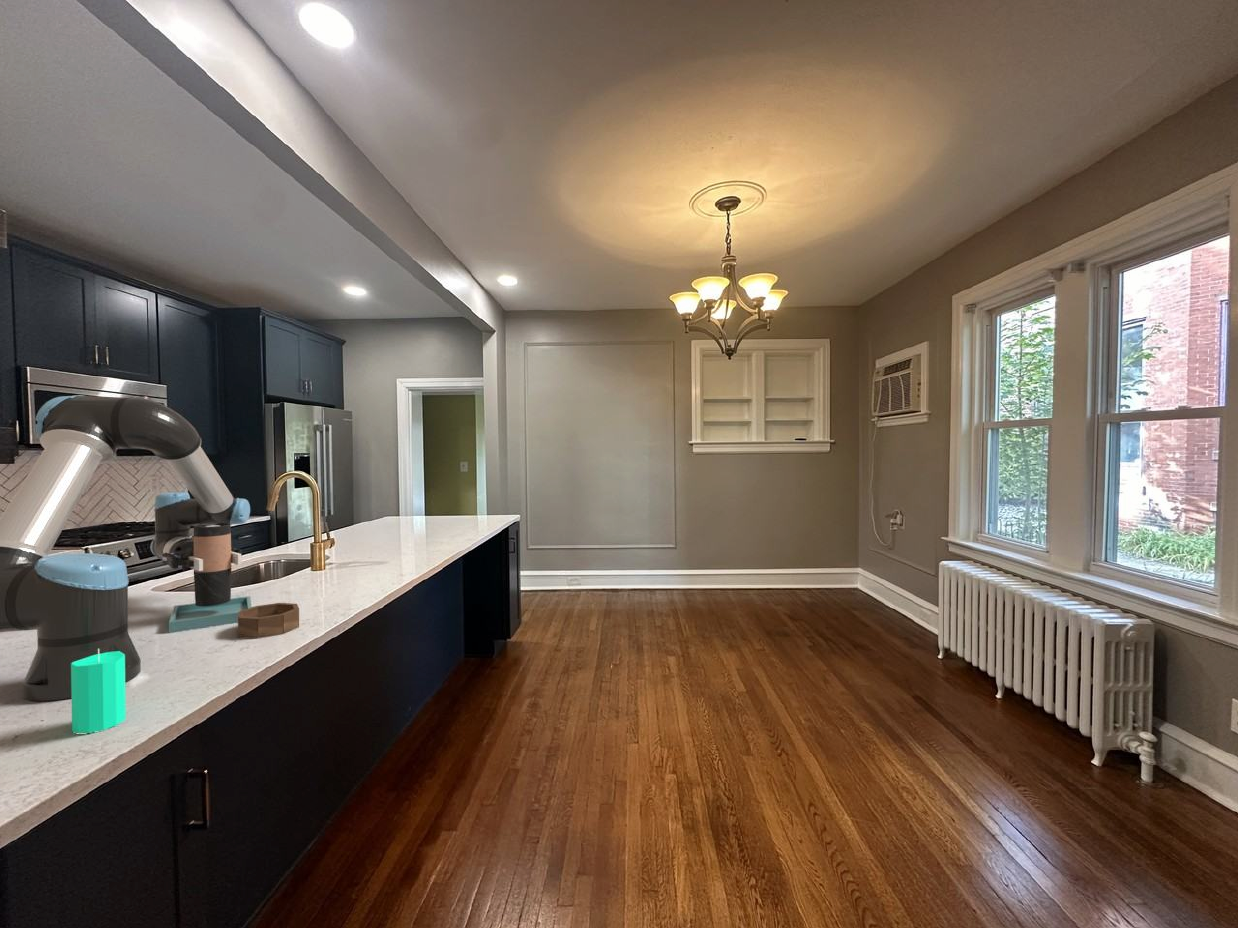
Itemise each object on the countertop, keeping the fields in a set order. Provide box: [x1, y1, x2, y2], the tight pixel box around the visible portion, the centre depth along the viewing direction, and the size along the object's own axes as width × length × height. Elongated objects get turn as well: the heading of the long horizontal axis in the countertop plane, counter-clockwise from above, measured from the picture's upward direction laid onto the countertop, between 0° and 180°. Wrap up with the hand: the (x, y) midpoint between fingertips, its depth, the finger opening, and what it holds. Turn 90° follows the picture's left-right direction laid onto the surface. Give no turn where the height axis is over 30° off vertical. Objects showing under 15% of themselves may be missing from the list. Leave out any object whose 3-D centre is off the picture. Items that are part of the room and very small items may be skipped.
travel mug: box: [193, 523, 232, 607], centre depth 133 cm, size 8×8×20 cm
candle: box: [71, 649, 127, 733], centre depth 81 cm, size 6×6×12 cm
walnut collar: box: [237, 602, 300, 639], centre depth 125 cm, size 12×12×4 cm
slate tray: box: [168, 595, 253, 634], centre depth 133 cm, size 16×16×2 cm
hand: (220, 562), depth 130 cm, fingers closed on travel mug, 7 cm apart
